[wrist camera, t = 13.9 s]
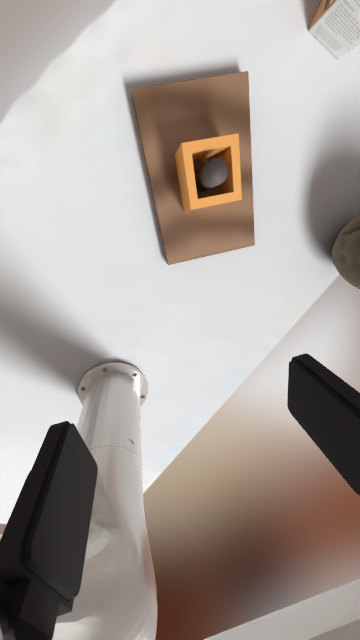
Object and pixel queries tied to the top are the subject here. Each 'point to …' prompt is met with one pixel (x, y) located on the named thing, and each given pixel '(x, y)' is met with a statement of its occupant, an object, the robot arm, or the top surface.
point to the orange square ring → (206, 149)
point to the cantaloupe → (348, 252)
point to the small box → (337, 25)
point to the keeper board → (197, 162)
